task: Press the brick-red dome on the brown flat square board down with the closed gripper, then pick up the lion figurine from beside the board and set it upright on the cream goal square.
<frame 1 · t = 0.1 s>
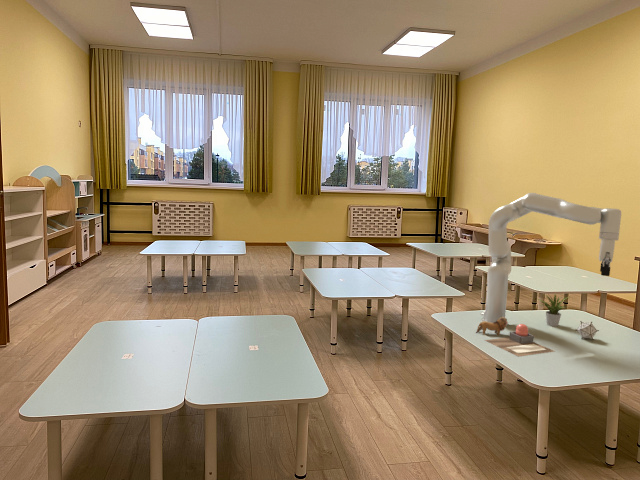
hand: (604, 273, 214), 31 cm above the table, tool pointing down, fingers open, 9 cm apart
lion figurine: (490, 336, 220), on the table
dome housing: (521, 340, 211), resting on brown flat square board
game die: (585, 339, 220), on the table
brown flat square board: (518, 348, 204), on the table
house plant: (553, 324, 240), on the table
pop dome: (522, 330, 210), point 6 cm above the table, slide at 0.0 cm
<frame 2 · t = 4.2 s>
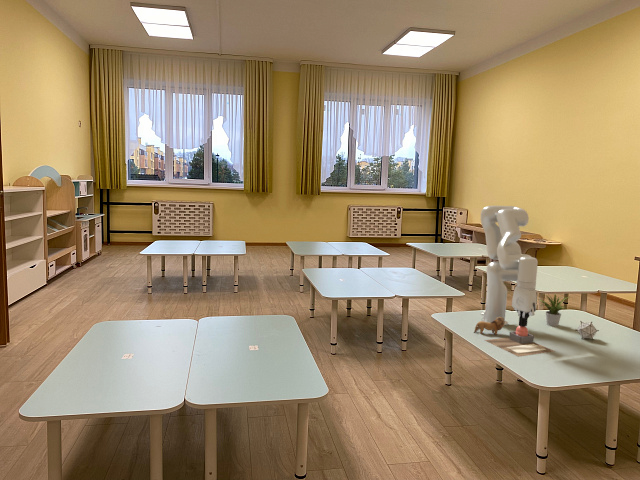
hand: (522, 325, 210), 8 cm above the table, tool pointing down, fingers closed
lion figurine: (488, 335, 220), on the table
pop dome: (521, 331, 210), point 5 cm above the table, slide at 0.7 cm, touching gripper
everything else where it was.
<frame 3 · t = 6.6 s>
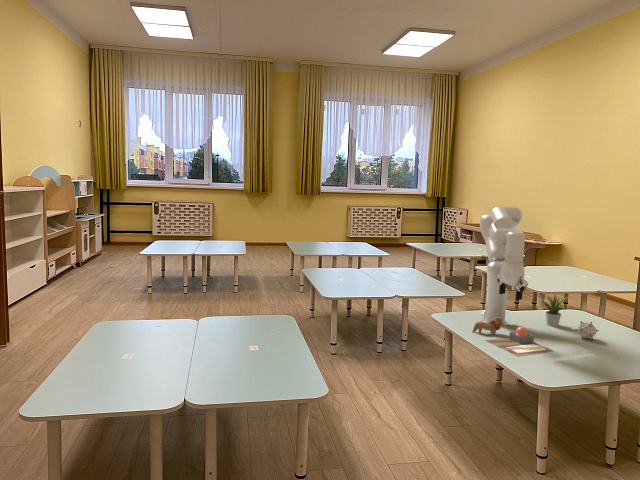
hand: (510, 296, 213), 20 cm above the table, tool pointing down, fingers open, 9 cm apart
pop dome: (521, 332, 210), point 5 cm above the table, slide at 1.2 cm
everything else where it was.
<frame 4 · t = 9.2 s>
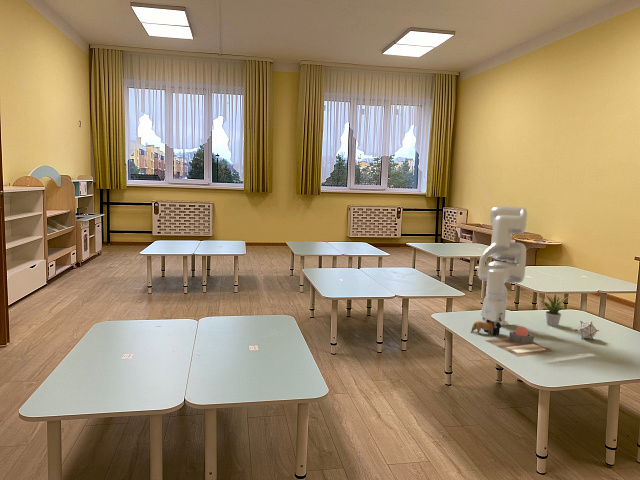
hand: (491, 333, 220), 1 cm above the table, tool pointing down, fingers closed on lion figurine, 5 cm apart
lion figurine: (485, 335, 220), on the table, touching gripper
everything else where it was.
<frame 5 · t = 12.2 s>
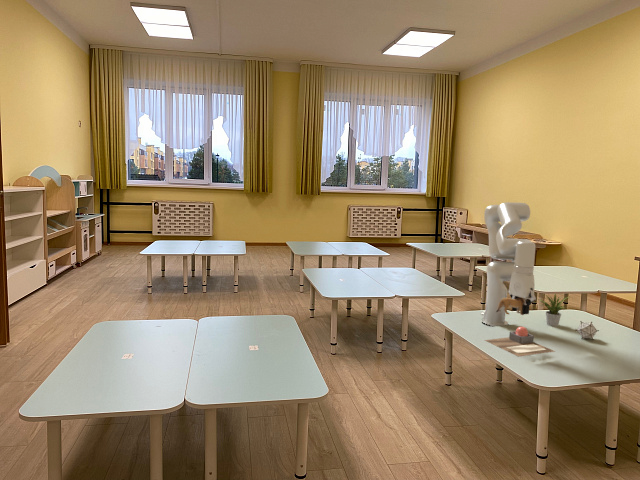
hand: (520, 311, 203), 16 cm above the table, tool pointing down, fingers closed on lion figurine, 5 cm apart
lion figurine: (513, 313, 203), point 15 cm above the table, touching gripper
everything else where it was.
when the fingers open (4 cm above the table, at t = 15.2 s): lion figurine drops 1 cm, resting on brown flat square board.
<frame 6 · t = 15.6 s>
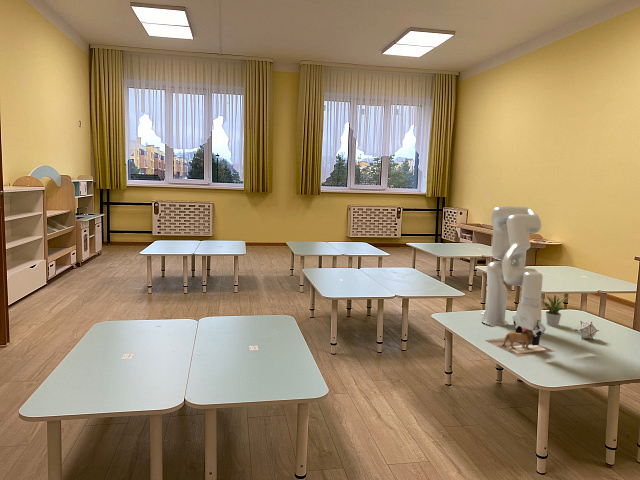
hand: (526, 341, 200), 5 cm above the table, tool pointing down, fingers open, 9 cm apart
lion figurine: (518, 347, 201), point 1 cm above the table, touching brown flat square board
everything else where it was.
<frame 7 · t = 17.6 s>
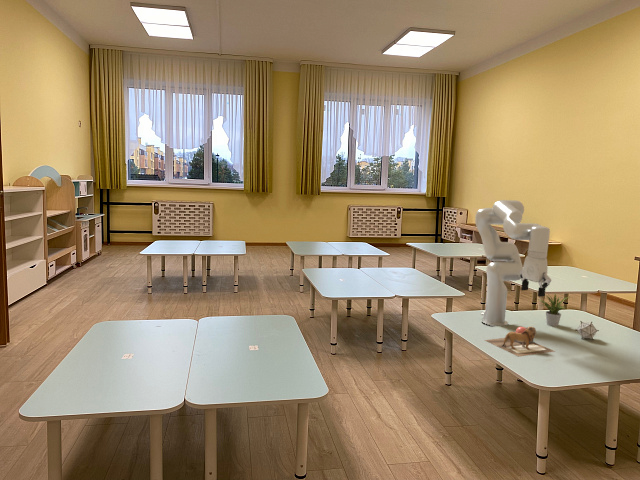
hand: (532, 293, 207), 23 cm above the table, tool pointing down, fingers open, 9 cm apart
nothing on the table moved.
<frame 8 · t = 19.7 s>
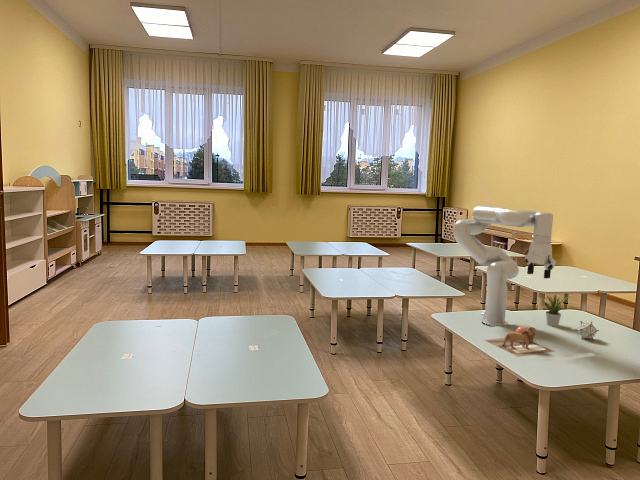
hand: (538, 276, 219), 28 cm above the table, tool pointing down, fingers open, 9 cm apart
nothing on the table moved.
at the end: pop dome slide at 1.2 cm; lion figurine inside the target area (2.9 cm from its centre), point 1.2 cm above the table; lion figurine tilted 0° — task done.
